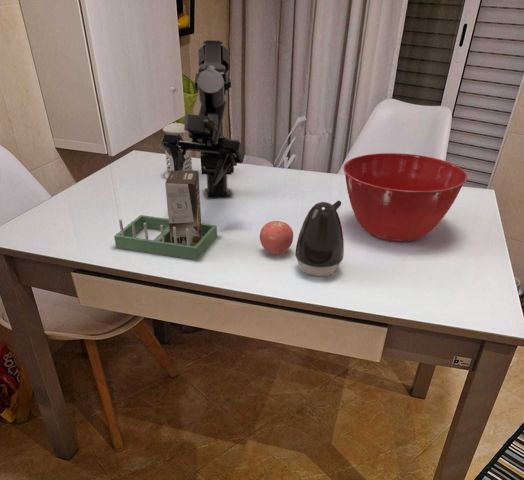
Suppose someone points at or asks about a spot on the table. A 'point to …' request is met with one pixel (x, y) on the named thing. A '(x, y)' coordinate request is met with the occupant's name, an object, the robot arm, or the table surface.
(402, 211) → the mixing bowl
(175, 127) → the french press
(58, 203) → the table surface
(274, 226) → the apple
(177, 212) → the coffee box
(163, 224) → the dish rack
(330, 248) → the pump dispenser
